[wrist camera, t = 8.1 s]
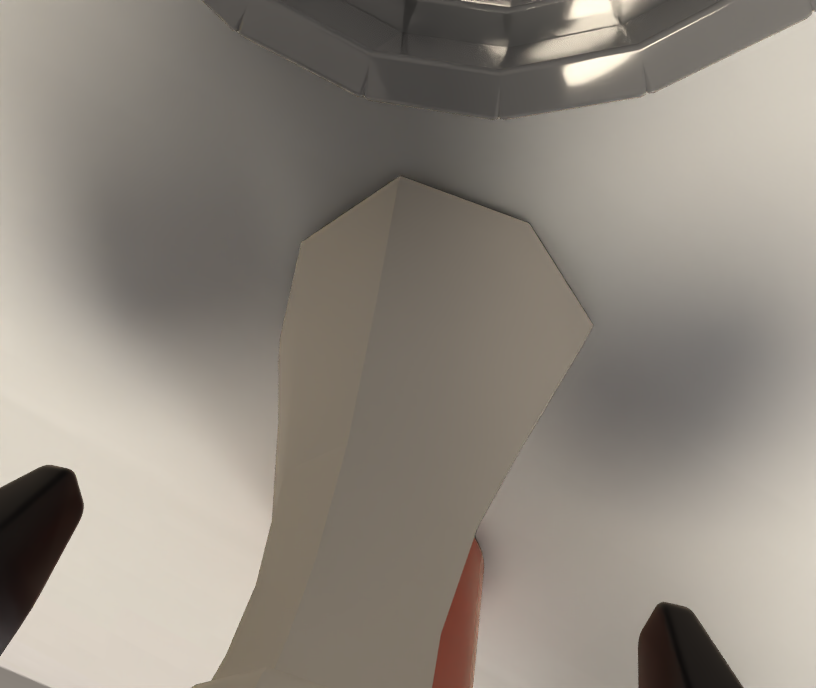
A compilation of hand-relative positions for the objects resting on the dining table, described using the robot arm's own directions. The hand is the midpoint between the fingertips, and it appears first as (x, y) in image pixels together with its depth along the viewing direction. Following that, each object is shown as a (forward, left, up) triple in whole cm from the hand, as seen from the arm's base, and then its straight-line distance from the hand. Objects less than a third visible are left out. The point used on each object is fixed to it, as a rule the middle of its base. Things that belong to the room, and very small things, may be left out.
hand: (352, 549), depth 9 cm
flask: (0, 0, -7) cm, 7 cm away
